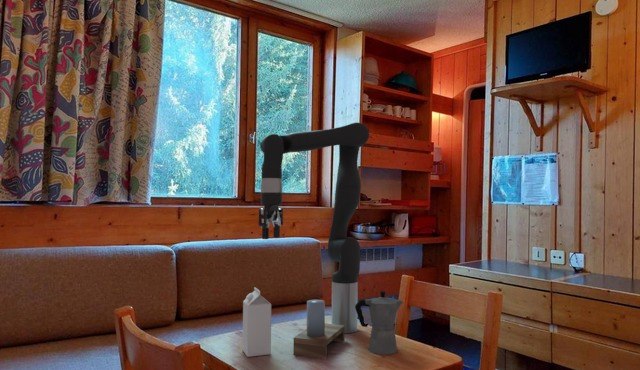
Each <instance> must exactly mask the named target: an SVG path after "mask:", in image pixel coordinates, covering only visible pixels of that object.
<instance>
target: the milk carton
mask: <svg viewBox="0 0 640 370" xmlns="http://www.w3.org/2000/svg"><path fill="white" fill-rule="evenodd" d="M253 289H254V290H253V291H252V292H250V293H248V294H247V295H246V297H245V299H244V300H243V301H242V351H243V353H244V354H245V356H246V357H248V358H249V357H257V356H265V355H271V354H272V303H271V302H270V301H268V300H267V299H266V298H265V297H264V296H262V295H261V290H259V289H258V288H257V287H253Z"/></svg>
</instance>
